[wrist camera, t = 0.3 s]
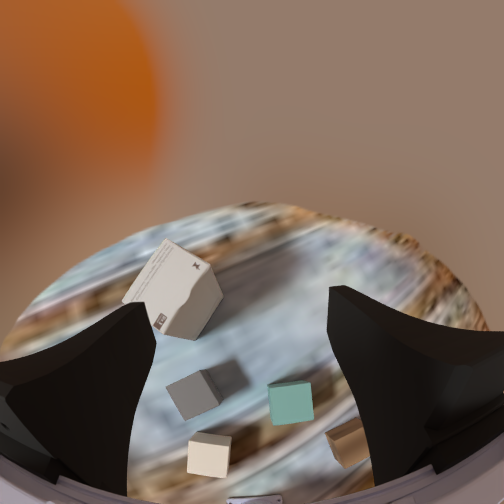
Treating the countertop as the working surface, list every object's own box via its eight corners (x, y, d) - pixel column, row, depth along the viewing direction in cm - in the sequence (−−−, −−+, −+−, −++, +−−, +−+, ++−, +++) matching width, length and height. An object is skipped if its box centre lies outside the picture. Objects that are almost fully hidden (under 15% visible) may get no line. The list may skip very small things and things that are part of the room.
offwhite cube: (229, 465, 29) (226, 478, 25) (194, 460, 30) (187, 472, 25) (231, 436, 31) (229, 446, 27) (196, 431, 31) (188, 440, 27)
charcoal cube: (223, 399, 34) (219, 405, 29) (193, 414, 33) (185, 421, 28) (205, 369, 35) (199, 370, 31) (175, 384, 34) (165, 386, 30)
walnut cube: (364, 442, 30) (378, 451, 26) (334, 458, 30) (345, 468, 25) (355, 417, 32) (368, 423, 27) (324, 432, 31) (334, 441, 27)
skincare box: (193, 276, 40) (165, 231, 27) (226, 297, 39) (213, 260, 26) (162, 322, 38) (116, 298, 24) (195, 345, 36) (162, 335, 23)
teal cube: (306, 412, 33) (313, 419, 28) (270, 417, 32) (273, 425, 28) (302, 380, 35) (310, 382, 30) (267, 384, 34) (269, 388, 30)
